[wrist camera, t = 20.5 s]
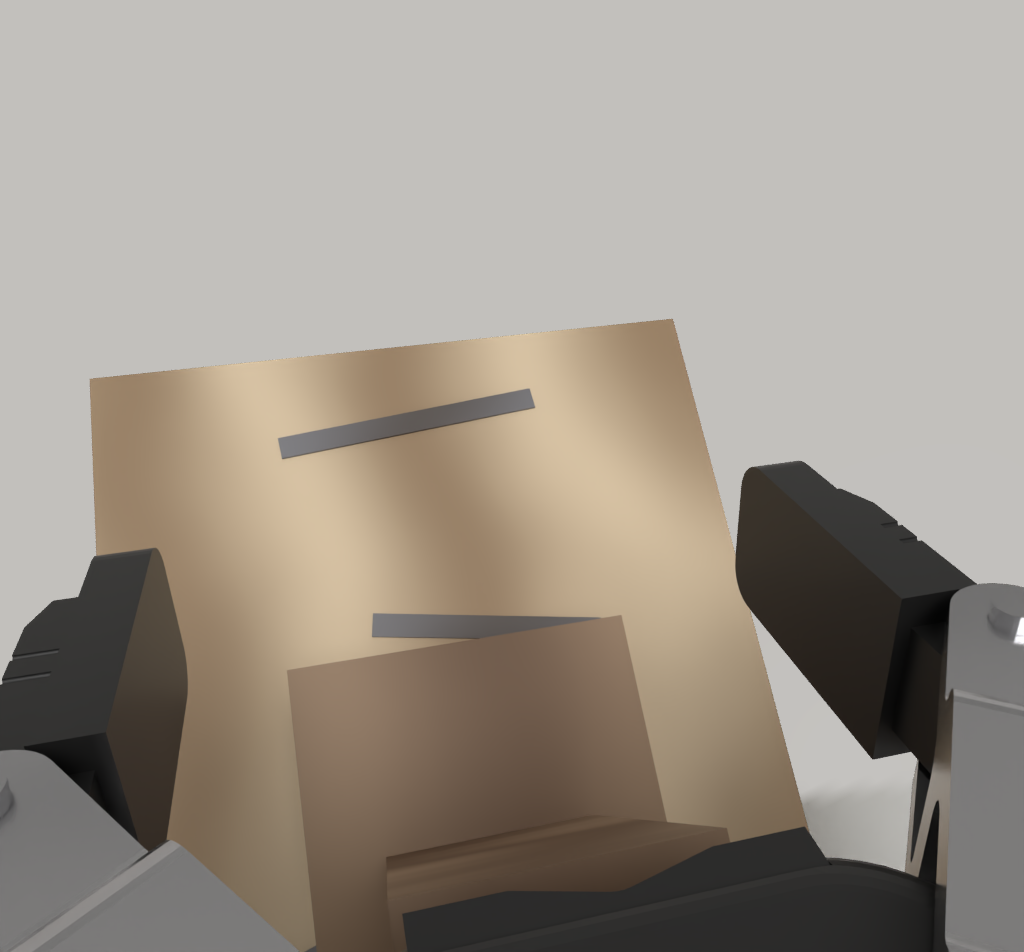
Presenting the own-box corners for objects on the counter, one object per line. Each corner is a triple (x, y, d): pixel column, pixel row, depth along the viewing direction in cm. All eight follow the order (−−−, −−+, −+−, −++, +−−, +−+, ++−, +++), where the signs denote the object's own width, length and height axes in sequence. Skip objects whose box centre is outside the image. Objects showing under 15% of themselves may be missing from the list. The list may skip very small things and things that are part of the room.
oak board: (155, 1451, 16) (131, 1517, 14) (109, 405, 22) (88, 377, 21) (883, 1231, 18) (926, 1268, 17) (656, 346, 25) (673, 317, 23)
